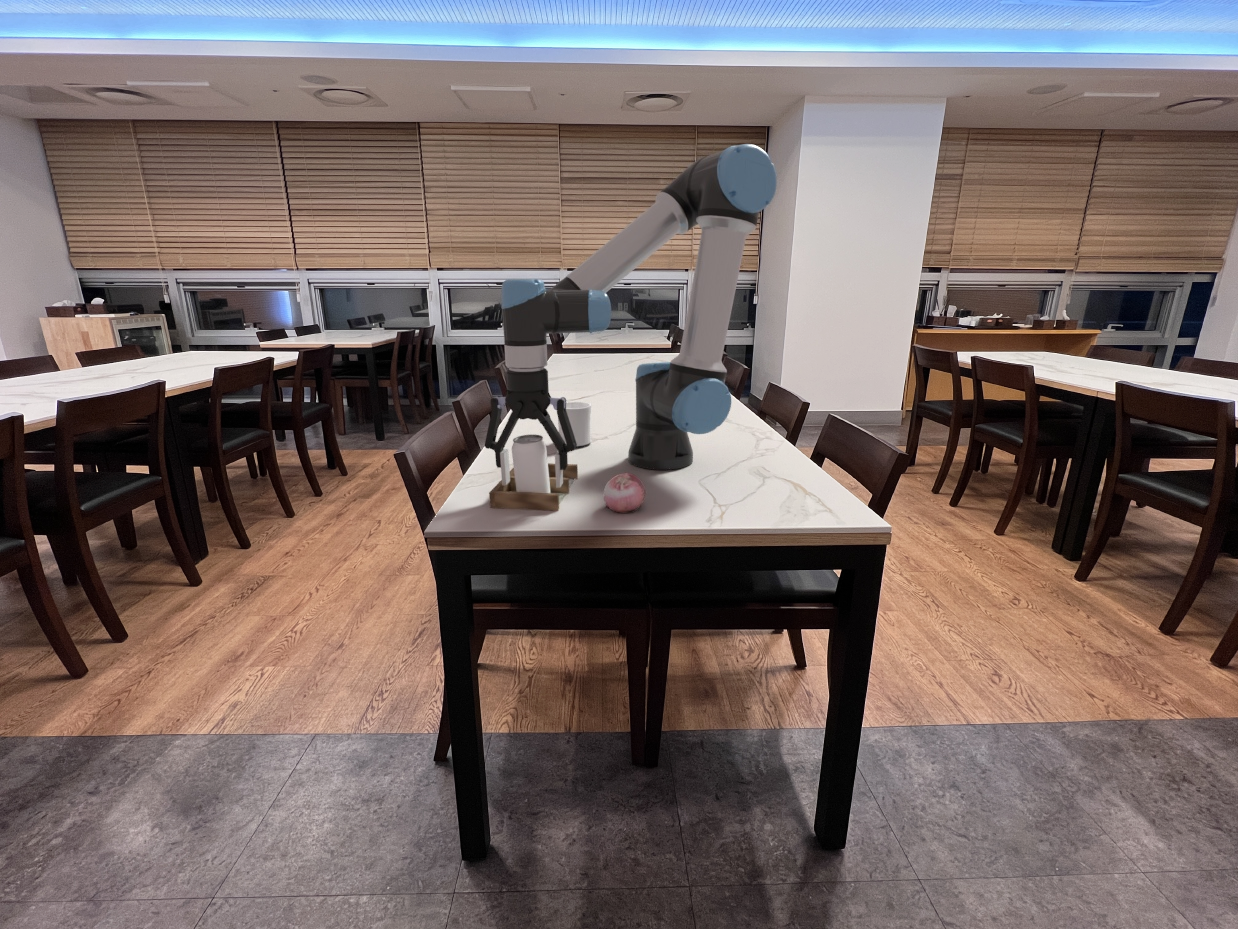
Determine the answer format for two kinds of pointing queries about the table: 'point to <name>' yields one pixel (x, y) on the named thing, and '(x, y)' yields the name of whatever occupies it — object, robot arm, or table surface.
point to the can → (530, 464)
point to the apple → (624, 493)
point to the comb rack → (533, 501)
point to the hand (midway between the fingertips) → (532, 484)
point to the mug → (579, 422)
